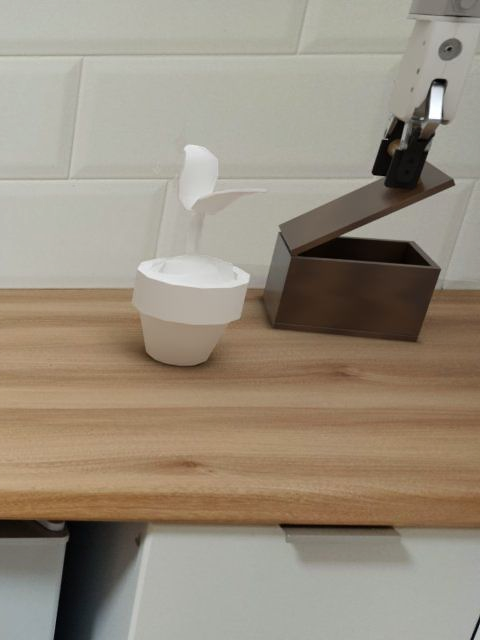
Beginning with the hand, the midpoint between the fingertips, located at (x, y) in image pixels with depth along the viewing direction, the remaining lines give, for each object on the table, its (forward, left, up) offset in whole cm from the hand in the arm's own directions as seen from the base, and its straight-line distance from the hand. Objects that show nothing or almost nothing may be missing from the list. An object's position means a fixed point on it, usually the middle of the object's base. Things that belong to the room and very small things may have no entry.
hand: (392, 180), depth 102 cm
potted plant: (+21, +20, -17) cm, 34 cm away
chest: (+2, 0, -17) cm, 17 cm away
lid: (+2, 0, -4) cm, 4 cm away
